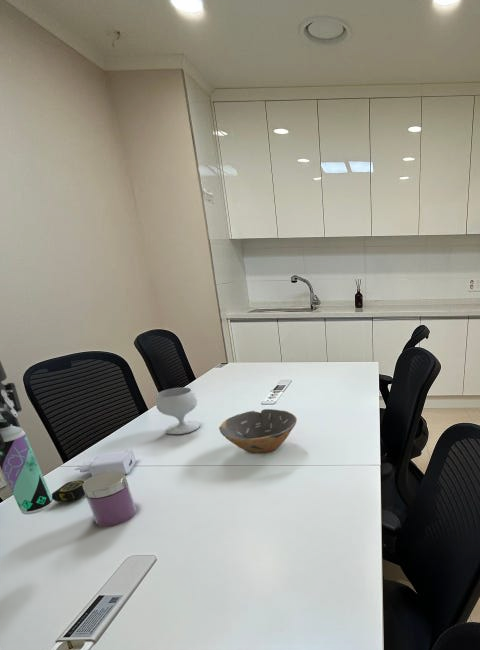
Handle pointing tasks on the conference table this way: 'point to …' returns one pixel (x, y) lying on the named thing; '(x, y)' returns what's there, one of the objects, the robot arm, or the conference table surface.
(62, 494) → the tape measure
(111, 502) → the jar
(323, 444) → the conference table surface
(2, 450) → the spray can
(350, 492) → the conference table surface
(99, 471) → the charger
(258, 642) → the conference table surface
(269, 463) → the conference table surface
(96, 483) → the jar lid
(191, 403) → the chalice
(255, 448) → the bowl
